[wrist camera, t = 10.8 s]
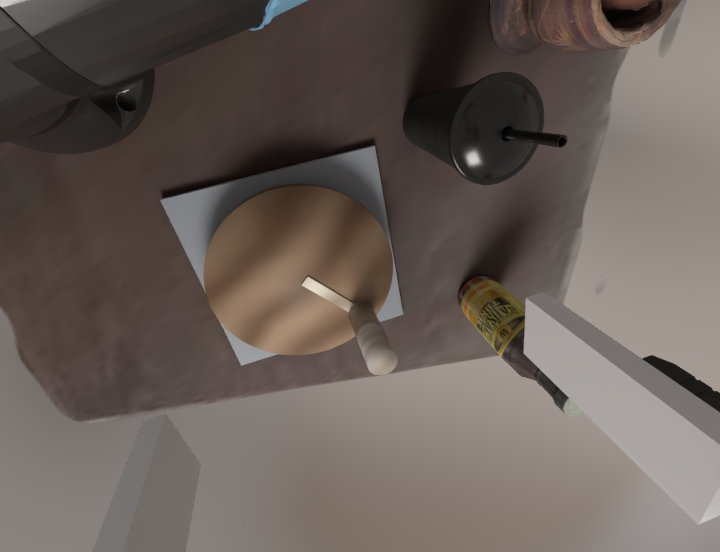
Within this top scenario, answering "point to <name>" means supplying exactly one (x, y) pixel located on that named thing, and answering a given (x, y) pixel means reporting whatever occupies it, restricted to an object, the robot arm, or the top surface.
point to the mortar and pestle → (575, 23)
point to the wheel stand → (213, 203)
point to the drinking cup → (482, 127)
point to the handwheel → (302, 273)
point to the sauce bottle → (507, 332)
